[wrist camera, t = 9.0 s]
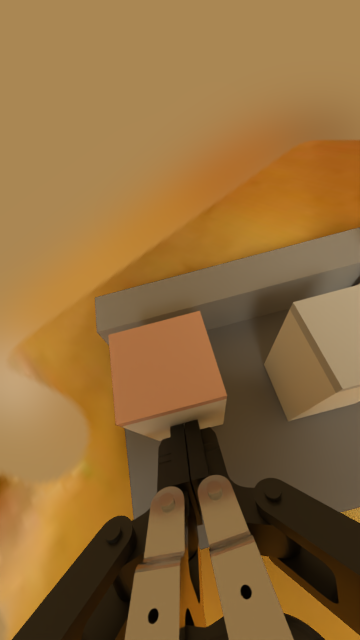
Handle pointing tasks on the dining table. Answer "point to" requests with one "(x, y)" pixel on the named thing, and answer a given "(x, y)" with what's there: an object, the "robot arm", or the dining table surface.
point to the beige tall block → (318, 354)
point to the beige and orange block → (166, 377)
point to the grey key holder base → (253, 369)
